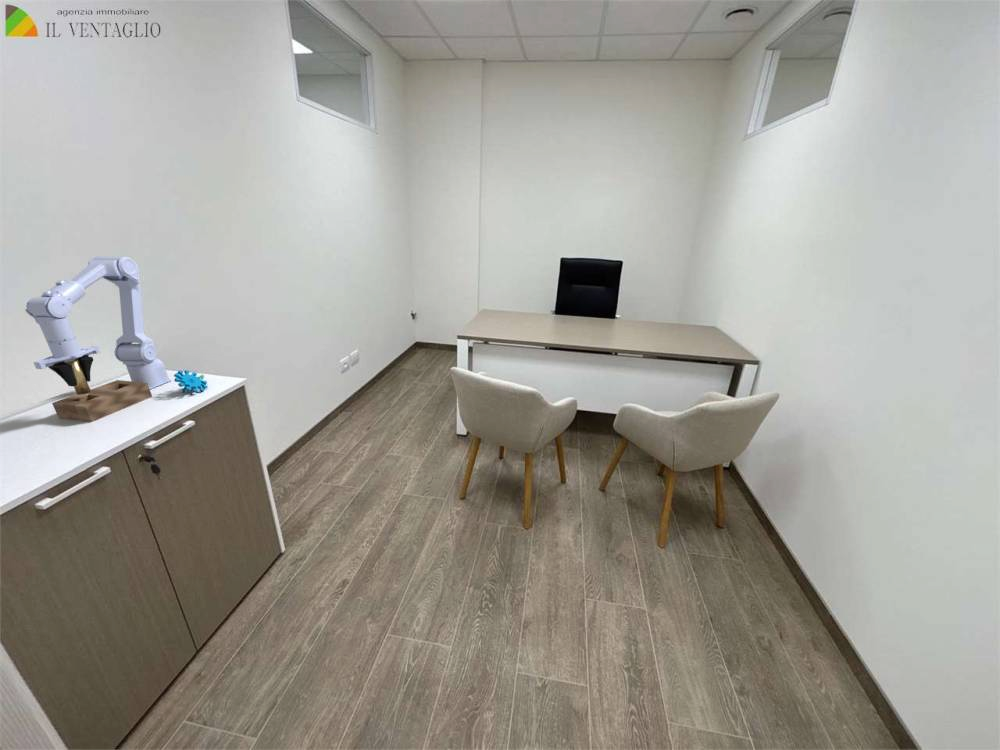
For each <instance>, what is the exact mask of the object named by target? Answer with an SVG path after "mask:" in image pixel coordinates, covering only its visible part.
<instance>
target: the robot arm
mask: <svg viewBox="0 0 1000 750" xmlns="http://www.w3.org/2000/svg"><path fill="white" fill-rule="evenodd" d="M102 279H104V280H106V281H108V282H110V283H112V284H114V285H115V286H116V287H117V288H118V289H119V292H118V293H119V303H120V313H121V315H120V317H121V323H122V325H121V327H122V335H120V337H118V338H117V339H116V340H115V341H116V344H115V348H114V356H115V358H116V359H117V360H118V361H119V362H122V364H123V365H125V366H126V370H127V372H128V374H129V378H130V381H133V382H144V383H148V386H149V389H150V390H152V389H154V388H156V387H159V386H162V385H165V384H167V383H169V382H171V381H172V379H169V378H170V377H169V376H168V373H167V370H166V367H165V364H164V362H163V361H162V360H161V359H159V358H157V355H158V351H157V349H156V347H155V343H154V340H153V339H152V338H150V337H148V336H147V335H145V323H144V311H143V310H144V309H143V308H144V307H143V297H142V286H141V285H142V284H141V281H140V269H139V264H137V263H136V262H135V261H134V260H133V259H132V258H131V257H129V256H94V257H93V258H92V259H91V260H88V261H87V265H86V266H85V267H84V268H83V269H82V270H80V272H78V274H76V275H75V276H74V277H72V279H71V280H67V279H64V280H57V281H56V282H55V285H54V286H52V287H51V288H50V289H49V290H46V291H44V292H42V295H41V296H34V297H31V298H30V299H29V300H28V301H27V302H26V309H25V310H24V311H25V312H26V313H27V315H29V316H30V317H31V318H33V319H34V320H35V323H36V324H38V325H39V327H40V330H41V331H42V335H43V336H44V338H45V341H46V344H47V346H48V347H49V350H50V353H51V355H50V356H47V357H45V358H42V359H40V360H36V361H33V362H32V363H33V364H34V367H35V369H36V370H44V369H46V368H48V369H49V370H51V371H53V372H55V374H57V375H58V376H59V377H60V378H62V379H63V381H64V382H65V383H66V384H67V385H68V387H74V386H77V383H76V381H75V378H74V376H73V372H72V365H70V364H67V363H65V362H67V361H70V360H74V359H78V361H79V363H80V366H81V368H82V371H83V373H84V376H85V378H86V380H87V383H89V382H91V371H92V370H91V369H92V368H91V367H92V365H93V362H94V357H93V356H91V355H94V354H101V350H100V349H99V346H90V347H85V348H81V347H80V344H79V342H78V339H77V338H76V337H77V336H75V333H74V330H73V327H72V326H71V323H70V321H69V318H68V316H70V314H71V311H72V309H71V308H72V307H73V305H74V304H76V303H77V302H78V301H80V300H81V299H82V298H83V297H85V295H86V290H87V288H89V287H90V286H91V285H93V284H95V283H96V282H98V281H99V280H102Z"/></svg>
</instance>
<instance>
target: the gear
mask: <svg viewBox="0 0 1000 750" xmlns="http://www.w3.org/2000/svg"><path fill="white" fill-rule="evenodd" d="M197 375H198V373H197V372H195V371H192V373H191V374H190V370H188V369H185V370H184V371H183V370H178V371H177V372H176V373H174V375H173V377H174V382H176V383H177V385H178V386H179V387H180V388H182V387H183V388H182V389H181V392H182V391H185V392H186V391H187V392H190V391H191V389H193V390H192V393H195V394H197V393H198V392H200V393H202V392H201V391H204V390H206V389H207V388H208V387H209V386H208V385H207V384H208V381H207V380H204V377H205V375H204V374H200V375H199V376H197ZM205 388H206V389H205ZM204 392H205V391H204Z"/></svg>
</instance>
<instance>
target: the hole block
mask: <svg viewBox="0 0 1000 750" xmlns="http://www.w3.org/2000/svg"><path fill="white" fill-rule="evenodd" d="M90 390H91V392H89V393H86V394H80V395H78V394H77V393H76V394H74V395H70V396H68V397H66V398H65V397H64V398H62V399H59V400H57V401H54V402H52V403H51V404H52V407H53V409H54V411H55V414H56V415H57V418H58V419H62V420H63V419H65V420H71V421H72V420H73V421H80V422H88V423H89V422H91V423H93V422H94V421H97V420H100V419H102V418H104V417H107V416H109V415H111V414H114V413H116V412H119V411H121V410H123V409H127V408H129V407H131V406H133V405H136V404H138V403H140V402H143V401H145V400H147V399H150V398H151V397H153V395H152V391H151V389H149V386H148V383H144V382H133V381H131V380H122V379H121V380H120V379H116V380H114V381H111V382H108V383H105V384H102V385H100V386H96V387H94V388H90Z"/></svg>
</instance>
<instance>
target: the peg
mask: <svg viewBox="0 0 1000 750" xmlns="http://www.w3.org/2000/svg"><path fill="white" fill-rule="evenodd" d="M65 363H67V364H70V365H72V372H73V376H74V378H75V381H76V383H77V386H73V389H74V391H75V393H76V394H78V395H80V394H86V393H89V392H91V390H90V389H91V388H90V385H89V382H87V380H86V378H85V376H84V373H83V371H82V368H81V366H80V363H79V361H78V359H74V360H70V361H67V362H65Z"/></svg>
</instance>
